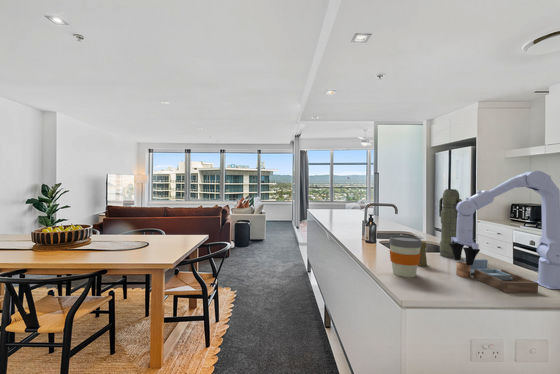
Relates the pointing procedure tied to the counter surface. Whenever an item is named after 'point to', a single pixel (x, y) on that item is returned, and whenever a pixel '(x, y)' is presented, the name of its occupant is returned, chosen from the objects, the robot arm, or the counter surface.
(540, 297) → the counter surface
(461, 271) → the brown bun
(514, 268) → the counter surface
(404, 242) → the reusable coffee cup
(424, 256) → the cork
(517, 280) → the caddy
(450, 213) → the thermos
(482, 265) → the tray
